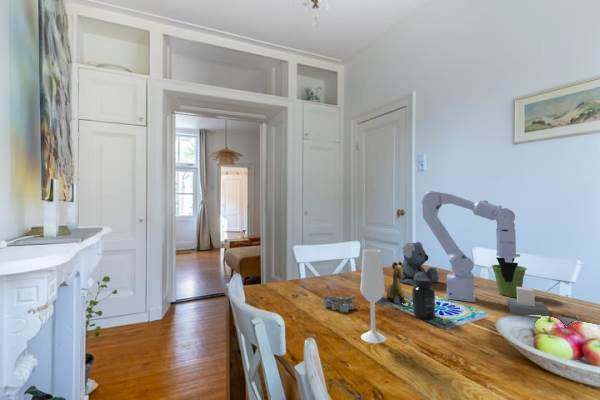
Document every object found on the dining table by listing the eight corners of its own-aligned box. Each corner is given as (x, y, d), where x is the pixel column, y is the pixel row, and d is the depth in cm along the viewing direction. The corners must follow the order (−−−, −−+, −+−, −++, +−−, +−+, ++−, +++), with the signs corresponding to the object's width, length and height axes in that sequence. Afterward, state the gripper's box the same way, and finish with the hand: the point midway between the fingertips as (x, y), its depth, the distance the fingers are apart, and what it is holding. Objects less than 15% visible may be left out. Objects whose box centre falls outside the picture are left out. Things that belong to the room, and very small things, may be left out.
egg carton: (356, 309, 105) (356, 297, 105) (343, 314, 99) (343, 302, 100) (333, 302, 112) (333, 291, 112) (320, 306, 107) (320, 295, 107)
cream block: (518, 304, 99) (517, 289, 100) (517, 300, 103) (516, 286, 103) (535, 306, 97) (534, 291, 97) (533, 302, 101) (532, 288, 101)
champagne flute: (367, 330, 85) (366, 248, 86) (389, 336, 81) (388, 250, 82) (356, 338, 80) (355, 251, 81) (379, 345, 76) (378, 253, 77)
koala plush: (424, 289, 128) (423, 244, 129) (387, 281, 141) (386, 241, 142) (440, 282, 140) (439, 241, 140) (405, 275, 153) (404, 238, 153)
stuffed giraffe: (381, 308, 105) (382, 263, 105) (372, 295, 122) (373, 256, 123) (427, 310, 103) (427, 265, 104) (411, 296, 121) (412, 258, 122)
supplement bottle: (434, 313, 99) (433, 277, 99) (436, 321, 92) (435, 282, 92) (412, 311, 101) (411, 276, 101) (413, 318, 94) (412, 281, 95)
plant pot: (515, 290, 124) (514, 264, 124) (535, 299, 112) (534, 270, 112) (486, 290, 125) (485, 263, 125) (502, 299, 113) (501, 269, 113)
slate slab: (511, 315, 98) (510, 306, 98) (507, 306, 106) (507, 298, 107) (549, 320, 93) (549, 311, 93) (542, 310, 102) (542, 302, 102)
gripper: (522, 244, 98) (524, 285, 98) (516, 240, 111) (517, 276, 110) (497, 243, 101) (498, 282, 101) (494, 239, 114) (495, 274, 114)
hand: (507, 279), depth 106 cm, fingers open, 7 cm apart
